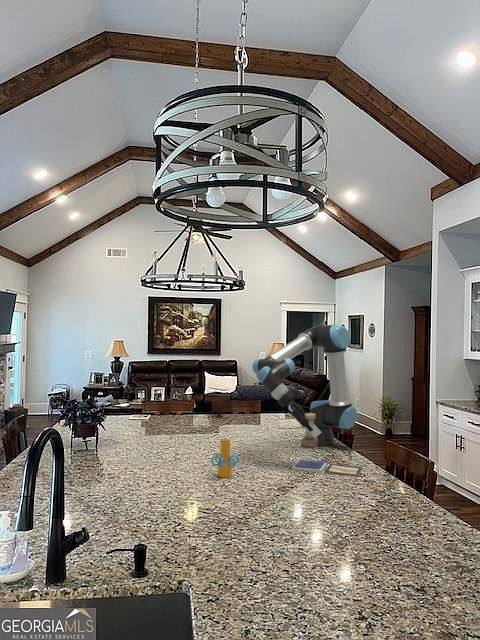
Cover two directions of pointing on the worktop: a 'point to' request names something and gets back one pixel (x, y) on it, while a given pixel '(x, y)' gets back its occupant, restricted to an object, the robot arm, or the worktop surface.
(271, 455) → the worktop surface
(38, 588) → the worktop surface
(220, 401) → the ice cream bowl
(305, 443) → the stamp
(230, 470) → the orange post with loops
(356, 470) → the marked board
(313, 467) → the ink pad
